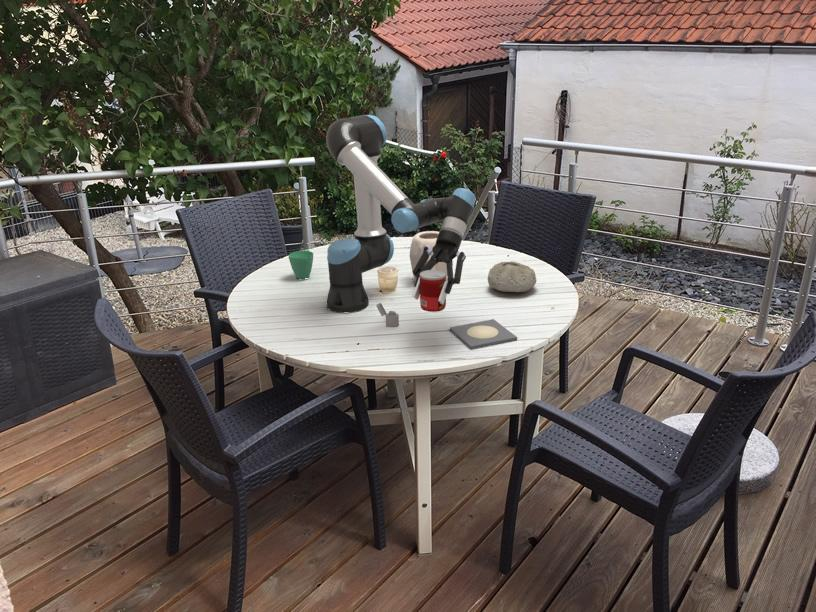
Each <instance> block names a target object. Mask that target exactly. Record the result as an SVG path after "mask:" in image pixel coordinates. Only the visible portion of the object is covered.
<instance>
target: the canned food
mask: <svg viewBox="0 0 816 612" xmlns="http://www.w3.org/2000/svg"><path fill="white" fill-rule="evenodd" d="M445 281H447V278H446V274H445V273H444V272H443V271H439V270H426V271H423V272H421V273H420V295H419V304H420V308H421V310H423V311H426V312H429V313H430V312H431V313H437V312H441V311H443V310H445V308H446V306H447V297H446V298H445V301H444V304H441V303H440V302H439V301H438V299H439V297H440V294H441V291H442V288H443V285H444V282H445Z"/></svg>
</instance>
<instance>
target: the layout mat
mask: <svg viewBox="0 0 816 612" xmlns="http://www.w3.org/2000/svg"><path fill="white" fill-rule="evenodd" d="M449 332H451V333H452V334H453V335H454V336H455V337H456V338H457V339H458V340H460V341H461V342H462V344H464V345H465V346H466V347H468V348H469V350H474V349H475V348H476V349H480V348H485V347H490V346H494V344H495V345H499V343H500V344H504V342H505V343H511V342H513V341H514V342H515V341H517V340H518V337H517V336H516V335H515V334H514V333H512V332H511V331H510V330H509V329H507V328H506V327H505V326H504V325H502V324H501V323H499V322H498V321H497V320H495V319H494V318H492V319H486V320H481V321H476V322H471V323H465V324H461V325H456V326H450V327H449ZM489 345H490V346H489ZM484 346H485V347H484ZM479 347H480V348H479Z"/></svg>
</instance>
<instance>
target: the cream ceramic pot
mask: <svg viewBox="0 0 816 612" xmlns="http://www.w3.org/2000/svg"><path fill="white" fill-rule="evenodd" d="M439 232H440V231H438V230H437V231H435V230H431V231H430V230H426V231H421V232H417V233H416V234H415V235H413V237H412V240H411V243H410V249H409V259H410V266H411V273H412V274H413V270H414V268H415V267H416V265H417V263H418V261H419V259H420V258H421V256H422V254H423V251H424V247H428V248H433V247H434V246H435V244H436V240H437V237H438V234H439ZM432 255H433V252H432V253H431V255H429V258H428V260H427V262H428V261H429V260H430V258H431V256H432ZM427 262H426V263H427ZM424 266H425V265H424ZM431 270H439V271H443V272H444V273H445V274H446V279H448V277H447V266H446V263H444V262H438V263H437V264H435V266H434V267H433V268H432V269H431ZM413 278H414V282H415V281H416V278H417V277H415V275H414V274H413Z"/></svg>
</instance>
